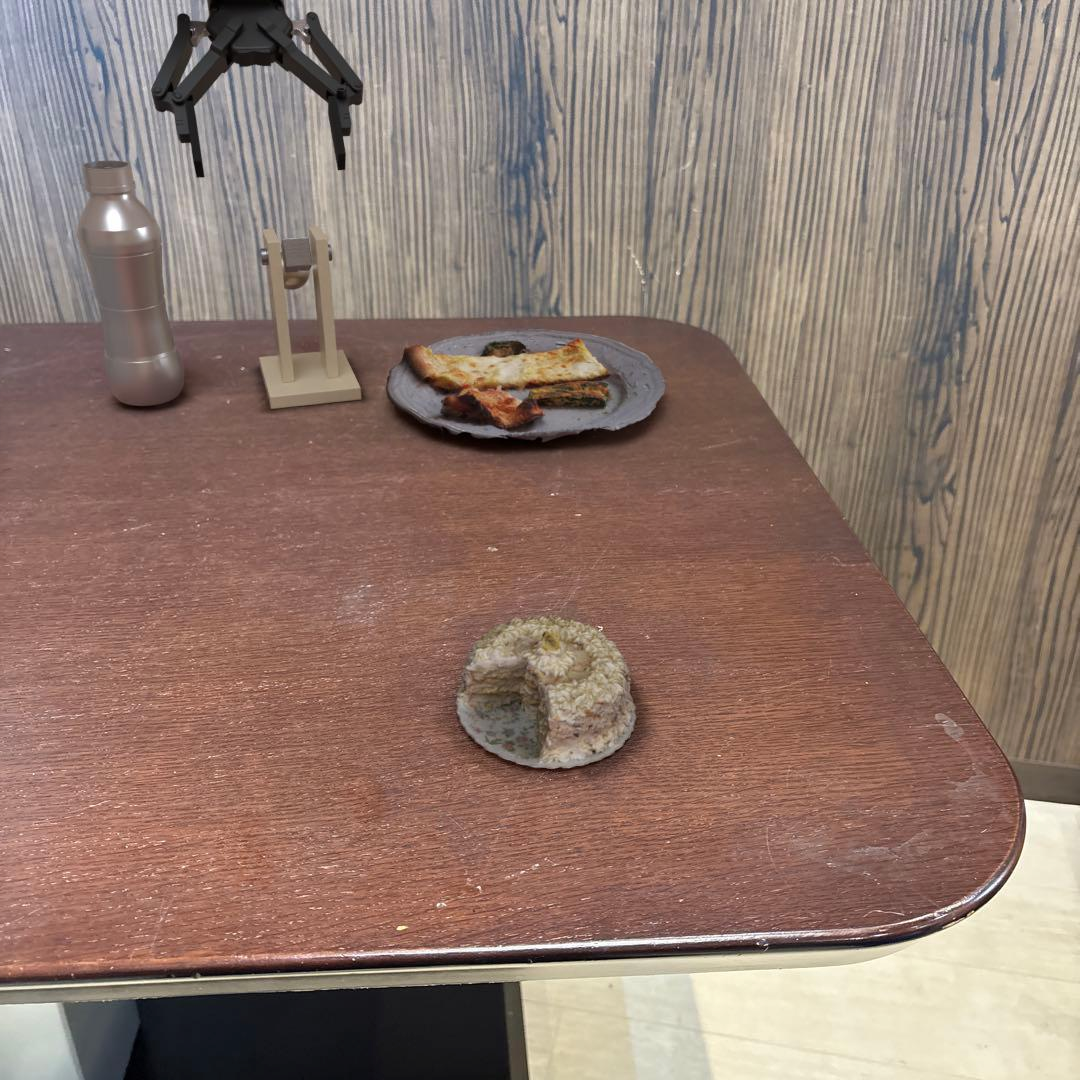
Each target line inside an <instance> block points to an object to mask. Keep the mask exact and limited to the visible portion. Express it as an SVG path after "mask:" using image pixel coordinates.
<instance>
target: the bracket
mask: <svg viewBox="0 0 1080 1080" xmlns="http://www.w3.org/2000/svg"><path fill="white" fill-rule="evenodd" d="M308 234H309V244H310V251H311V258H312V266H311V269H312V277H313V289H314V300H315V301H314V302H315V310H316V311H315V312H316V321H317V332H318V333H317V334H318V341H319V342H318V343H319V351H312V352H311V351H310V352H302V353H292V346H291V337H290V335H291V334H290V327H289V317H288V308H287V299H286V289H285V288H284V280H283V270H282V261H281V252H282V251H281V243H280V240H279V238H278V236H277V234H276V231H275V228H264V229H262V240H263V248H259V255H260V256H259V257H260V262H261V266H266V275H267V283H268V292H269V300H270V301H269V302H270V309H271V317H272V318H271V319H272V326H273V327H272V328H273V335H274V343H275V350H276V351H275V352H276V353H275V354H276V355H268V356H259V357H258V362H259V369H260V373H261V376H262V380H263V384H264V387H265V392H266V395H267V399H268V402H269V406H270V409H271V410H275V409H276V410H277V409H286V408H294V407H303V406H312V405H313V406H315V405H322V404H332V403H341V402H350V401H351V402H352V401H361V400H362V387H361V385H360V383H359V381H358V379H357V377H356V375H355V372H354V371H353V369H352V366H351V365H350V362H349V360H348V358H347V356H346V354H345V351H344V350H343V349H338V348H337V339H336V327H335V325H336V324H335V314H334V313H335V312H334V303H333V289H332V288H333V287H332V278H331V267H330V266H331V265H330V262H332V261H333V250H332V246H331V244H329V242H328V241H329V240H328V237H327V236H326V234H325V233H324V231H323V229H322V227H321V226H320V225H316V226H314V225H313V226H308Z"/></svg>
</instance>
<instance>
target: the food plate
mask: <svg viewBox="0 0 1080 1080" xmlns="http://www.w3.org/2000/svg"><path fill="white" fill-rule="evenodd" d="M662 372H663V371H662V370H661V368H659V367H658V365H657V364H656V363H654V361H653V360H652V359H651V357H649V355H648V354H647V353H644V352H642V351H640V350H637V349H635V348H633V347H630V346H629V345H626V344H625V343H622V342H619V341H616V340H614V339H611V338H608V337H604V336H599V335H596V334H589V333H585V332H583V333H582V332H572V331H558V330H553V329H551V328H546V330H545V327H544V328H543V327H520V328H506V329H503V330H502V329H499V330H493V331H492V330H491V331H485V332H479V333H472V334H469V335H468V334H465V335H458V336H452V337H450V338H446V339H443V340H439V341H435V342H434V343H433V342H432V343H430V344H428V345H427V346H424V345H418V344H411V346H408V347H406V346H405V347H404V349H403V354H402V357H401V360H400V362H398V364H397V365H394V366H393V367H392V368H391V369H390V370H389V371H388V374H389V375H388V376H387V378H386V380H387V381H386V384H385V390H386V396H387V398H388V400H389V402H390V403H391V405H393V406H395V407H396V408H397V409H399V410H400V411H403V412H405V413H407V414H409V415H410V416H412V417H413V418H414V419H415V420H417V421H418V423H419V424H422V425H428V426H430V427H431V428H435V429H440V431H441V432H440V434H441V435H443V434H445V431H444V428H446V430H447V432H448V433H450V435H453V436H457V435H459V434H462V433H465V432H466V433H470V435H471V437H472V438H476V439H491V438H504V439H508V437H509V438H514V439H518V440H526V441H527V440H528V441H535V440H536V439H538V438H540V439H541V443H545V442H548V441H551V440H555V439H558V438H561V437H564V436H572V435H573V436H574V435H578V434H580V433H581V432H583V431H588V430H593V431H597V429H604V430H607V431H614V432H615V431H616V430H620V429H622V428H625V427H627V426H630V425H633V424H635V423H637V422H640V421H642V420H644V419H646V418H647V417H649V416H650V415H651V414H652V411H654V410H655V409H656V407H657V403H658V402H659V401H660V400H661V398H662V397H663V396H664V395H665V391H666V384H665V383H666V376H664V373H662Z"/></svg>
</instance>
